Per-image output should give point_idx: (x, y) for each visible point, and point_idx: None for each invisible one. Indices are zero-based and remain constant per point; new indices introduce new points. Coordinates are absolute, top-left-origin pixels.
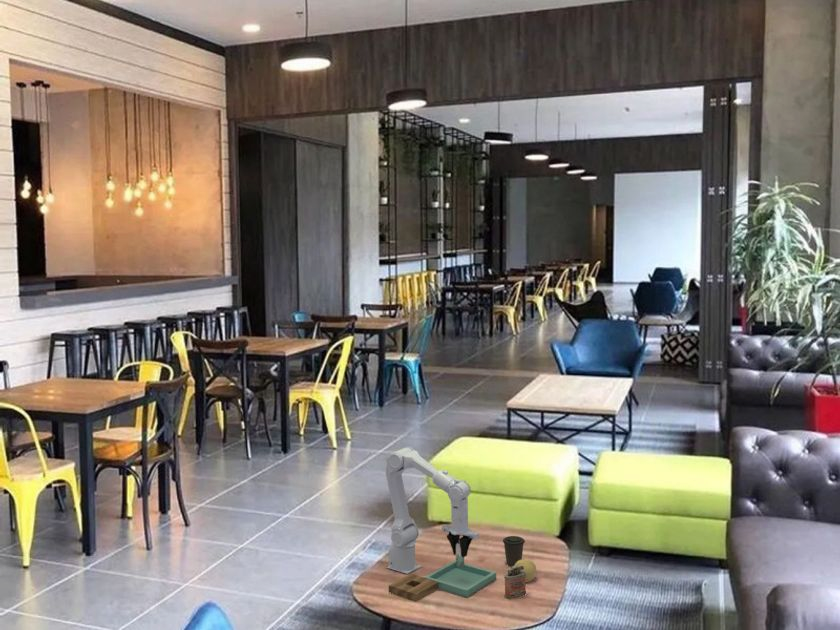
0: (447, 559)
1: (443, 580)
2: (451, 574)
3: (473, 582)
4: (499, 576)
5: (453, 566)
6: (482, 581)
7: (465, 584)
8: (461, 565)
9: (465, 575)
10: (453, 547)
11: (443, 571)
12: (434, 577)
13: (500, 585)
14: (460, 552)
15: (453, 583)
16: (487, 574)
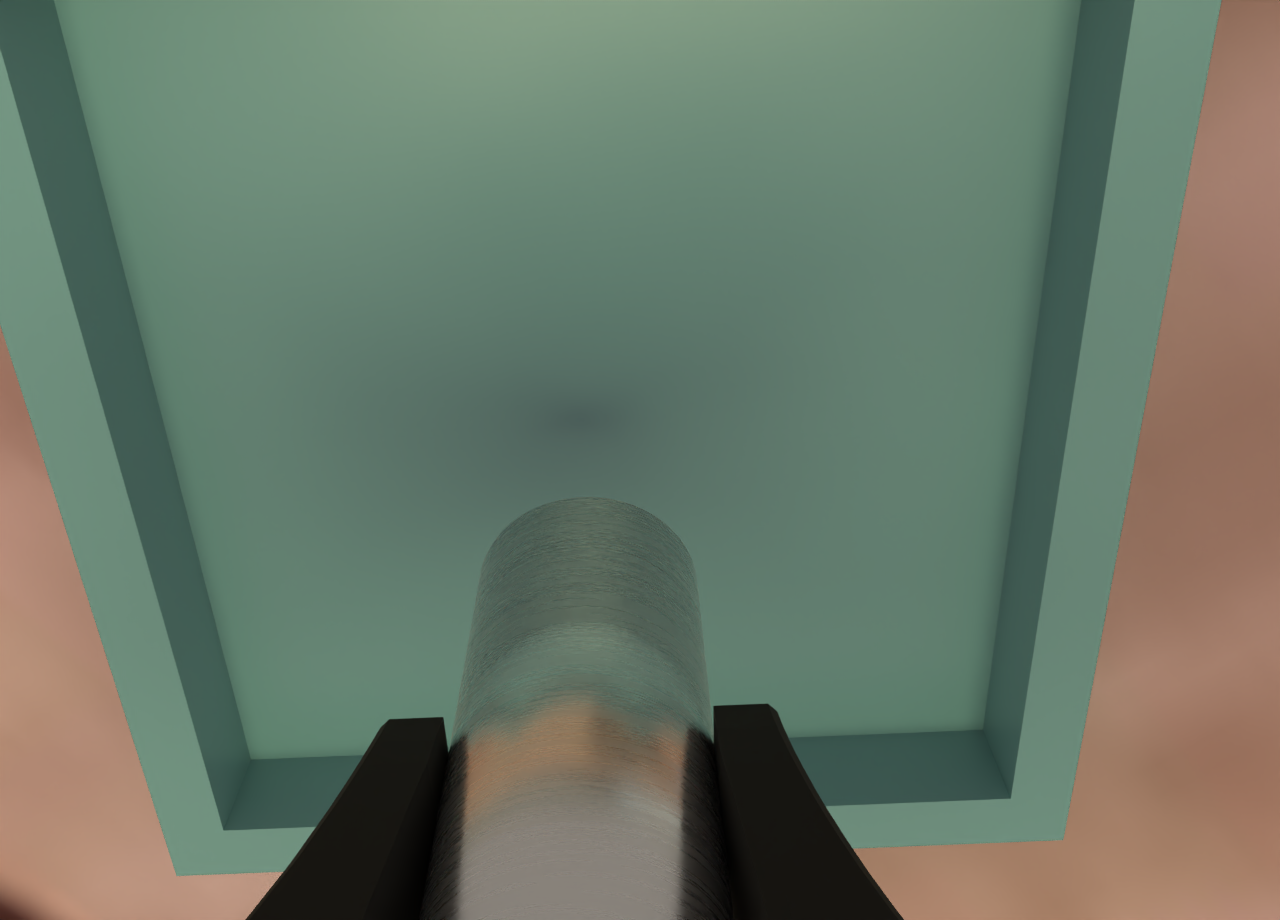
0: (1269, 881)
1: (871, 216)
2: (889, 508)
3: (349, 484)
4: (266, 874)
5: (1000, 716)
6: (65, 502)
7: (399, 334)
8: (493, 556)
9: None
10: (765, 873)
11: (1041, 458)
12: (1079, 150)
13: (6, 676)
14: (467, 804)
15: (615, 228)
16: (320, 788)
